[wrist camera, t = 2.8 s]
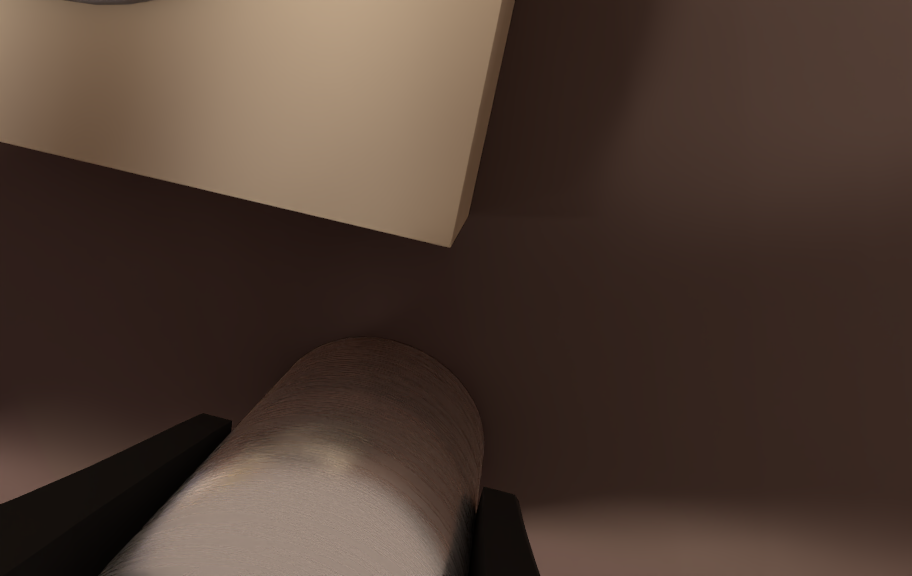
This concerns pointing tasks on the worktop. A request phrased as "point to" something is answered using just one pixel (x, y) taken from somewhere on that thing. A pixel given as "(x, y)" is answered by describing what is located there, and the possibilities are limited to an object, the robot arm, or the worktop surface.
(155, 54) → the stand
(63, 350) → the worktop surface
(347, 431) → the cylinder
